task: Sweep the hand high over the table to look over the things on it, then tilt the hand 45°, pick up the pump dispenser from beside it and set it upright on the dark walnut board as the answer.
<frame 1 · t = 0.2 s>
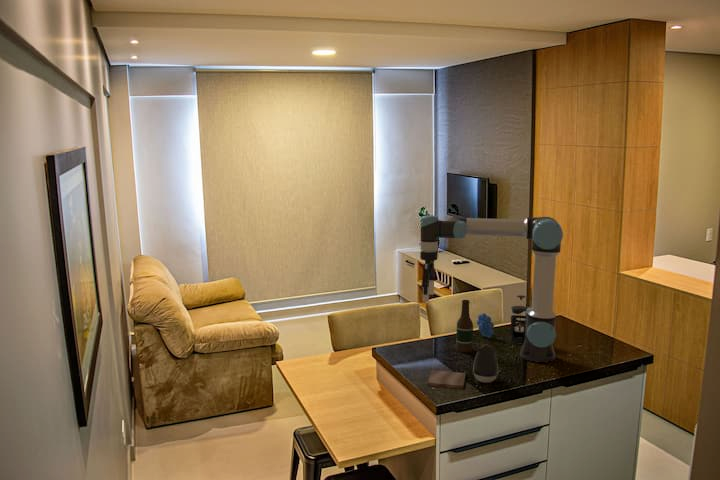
hand: (428, 297, 269), 28 cm above the worktop, tool pointing down, fingers open, 13 cm apart
french press: (518, 341, 298), on the worktop
walnut board: (446, 380, 247), on the worktop
beer bottle: (464, 350, 285), on the worktop
grapes: (483, 337, 304), on the worktop
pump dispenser: (484, 380, 247), on the worktop
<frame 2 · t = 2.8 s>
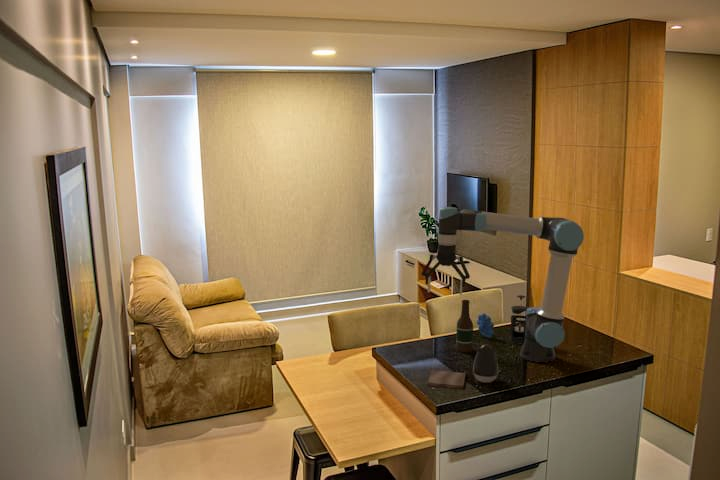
hand: (444, 293, 259), 32 cm above the worktop, tool pointing down, fingers open, 13 cm apart
nothing on the worktop moved.
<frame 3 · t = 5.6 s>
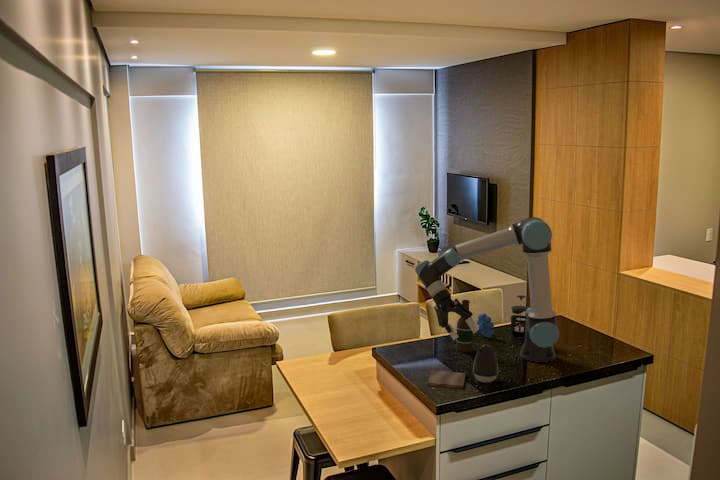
hand: (466, 335, 252), 17 cm above the worktop, tool tilted 45°, fingers open, 13 cm apart
nothing on the worktop moved.
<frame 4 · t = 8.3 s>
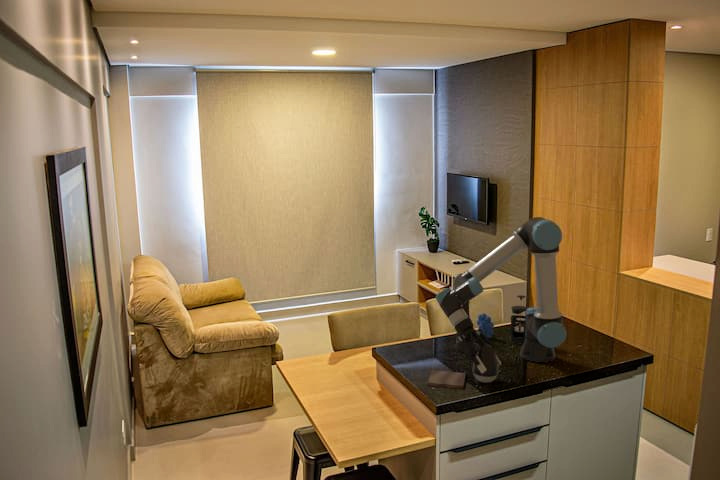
hand: (491, 368, 244), 6 cm above the worktop, tool tilted 45°, fingers closed on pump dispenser, 9 cm apart
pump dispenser: (484, 380, 247), on the worktop, touching gripper
everything else where it was.
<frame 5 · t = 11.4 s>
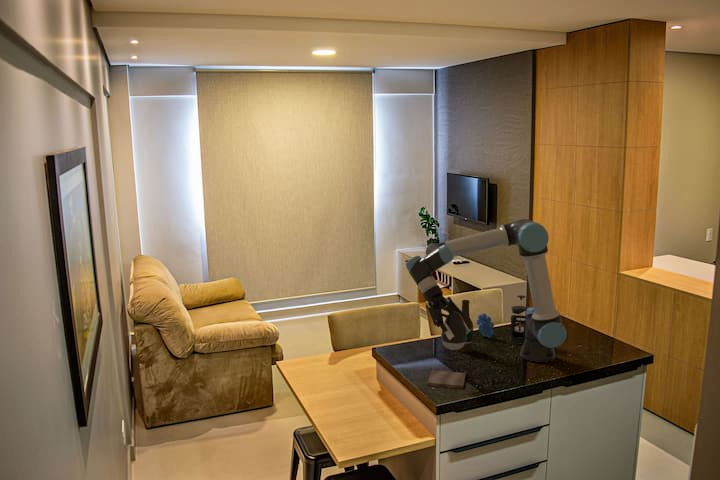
hand: (459, 335, 242), 20 cm above the worktop, tool tilted 45°, fingers closed on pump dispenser, 9 cm apart
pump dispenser: (452, 348, 245), point 14 cm above the worktop, touching gripper
everything else where it was.
when the fingers open (9 cm above the worktop, at t = 14.7 s): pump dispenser drops 1 cm, resting on walnut board.
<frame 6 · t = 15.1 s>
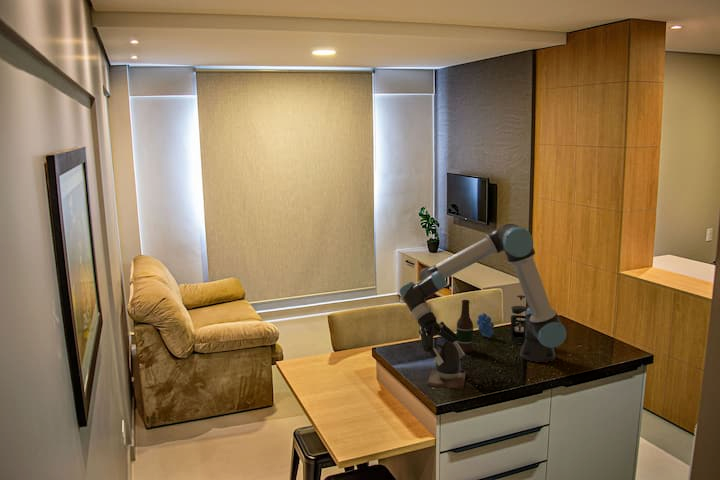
hand: (452, 360, 244), 9 cm above the worktop, tool tilted 45°, fingers open, 13 cm apart
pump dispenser: (447, 377, 247), point 1 cm above the worktop, touching walnut board
everything else where it was.
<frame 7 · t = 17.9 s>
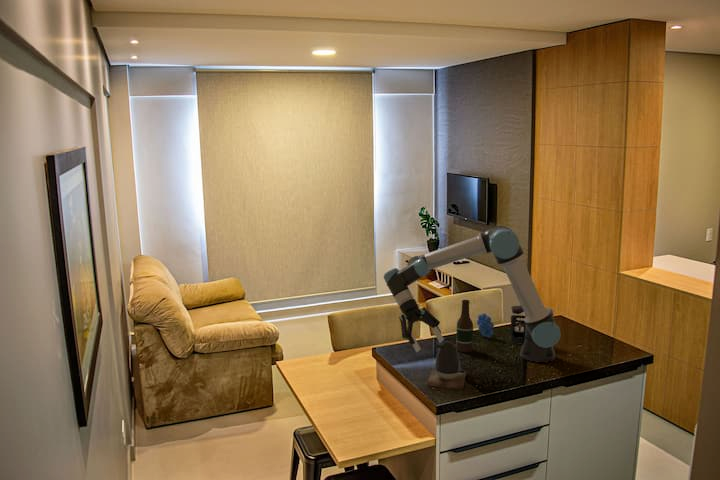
hand: (430, 346, 254), 12 cm above the worktop, tool tilted 40°, fingers open, 13 cm apart
nothing on the worktop moved.
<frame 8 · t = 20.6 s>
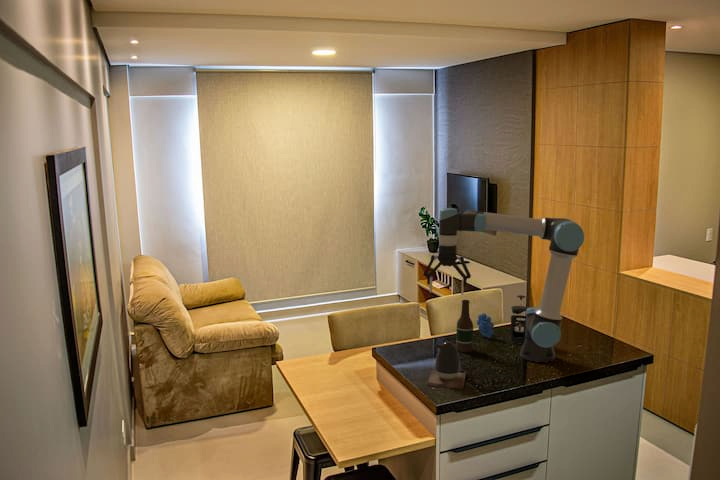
hand: (446, 293, 262), 32 cm above the worktop, tool pointing down, fingers open, 13 cm apart
nothing on the worktop moved.
at the end: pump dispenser inside the target area on the walnut board (0.1 cm from its centre), point 1.0 cm above the walnut board's base; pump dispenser tilted 0°; the gripper is holding nothing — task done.
